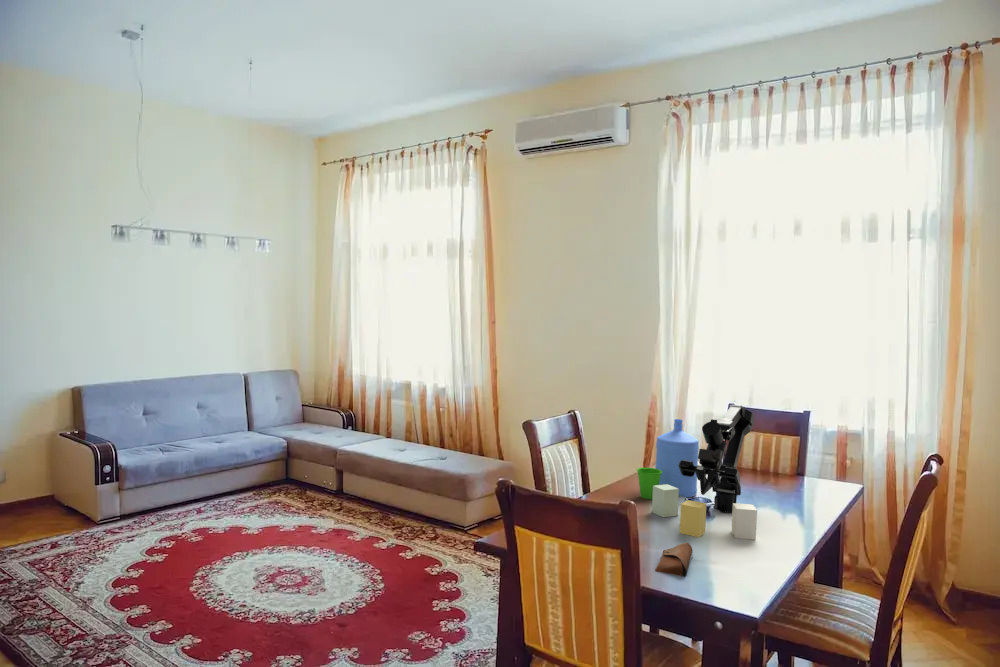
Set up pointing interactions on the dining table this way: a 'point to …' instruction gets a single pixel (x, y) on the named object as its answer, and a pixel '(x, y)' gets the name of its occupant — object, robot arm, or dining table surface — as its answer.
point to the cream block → (744, 521)
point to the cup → (648, 481)
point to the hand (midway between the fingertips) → (702, 493)
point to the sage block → (665, 500)
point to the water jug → (677, 459)
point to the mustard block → (693, 518)
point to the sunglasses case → (675, 560)
